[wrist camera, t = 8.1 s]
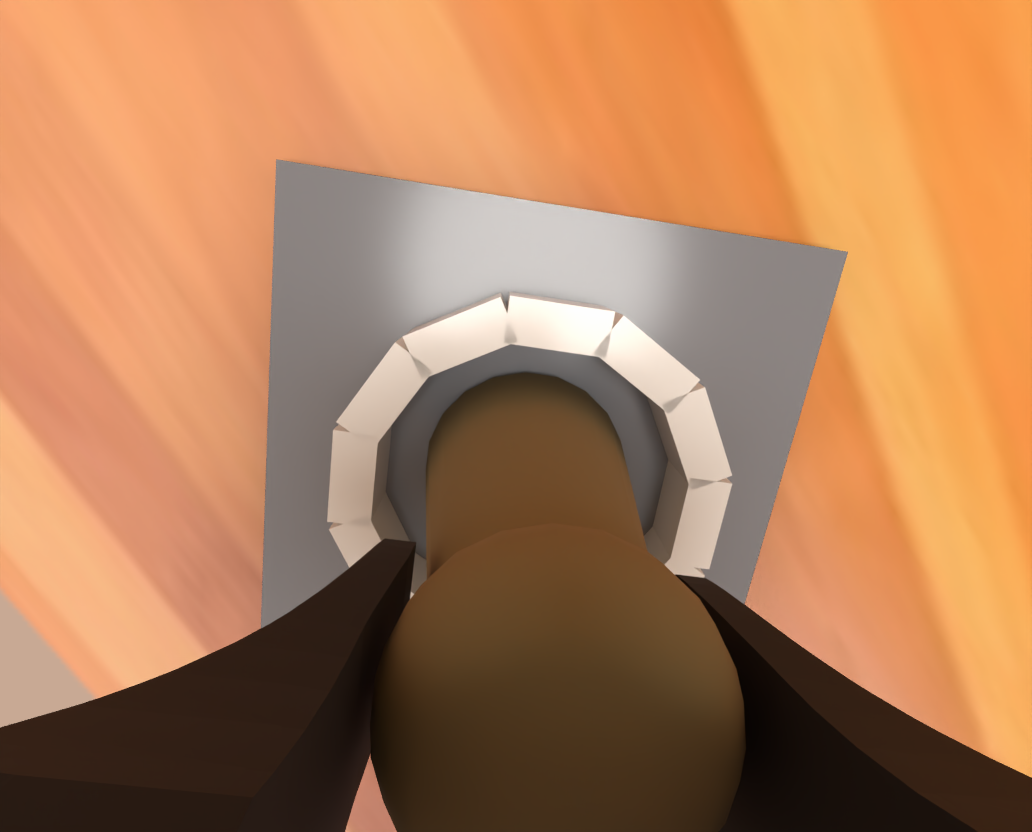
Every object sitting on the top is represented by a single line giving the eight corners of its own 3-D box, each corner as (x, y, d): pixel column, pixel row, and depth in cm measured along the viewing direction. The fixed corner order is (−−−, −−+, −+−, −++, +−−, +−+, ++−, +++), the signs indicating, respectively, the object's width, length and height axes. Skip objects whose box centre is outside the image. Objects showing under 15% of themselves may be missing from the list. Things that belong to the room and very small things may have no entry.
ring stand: (705, 695, 21) (735, 759, 18) (269, 646, 20) (232, 707, 17) (831, 252, 17) (895, 250, 14) (287, 164, 16) (242, 144, 13)
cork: (583, 578, 18) (704, 1032, 8) (402, 528, 17) (255, 950, 7) (653, 407, 17) (927, 676, 6) (458, 345, 16) (376, 525, 5)
